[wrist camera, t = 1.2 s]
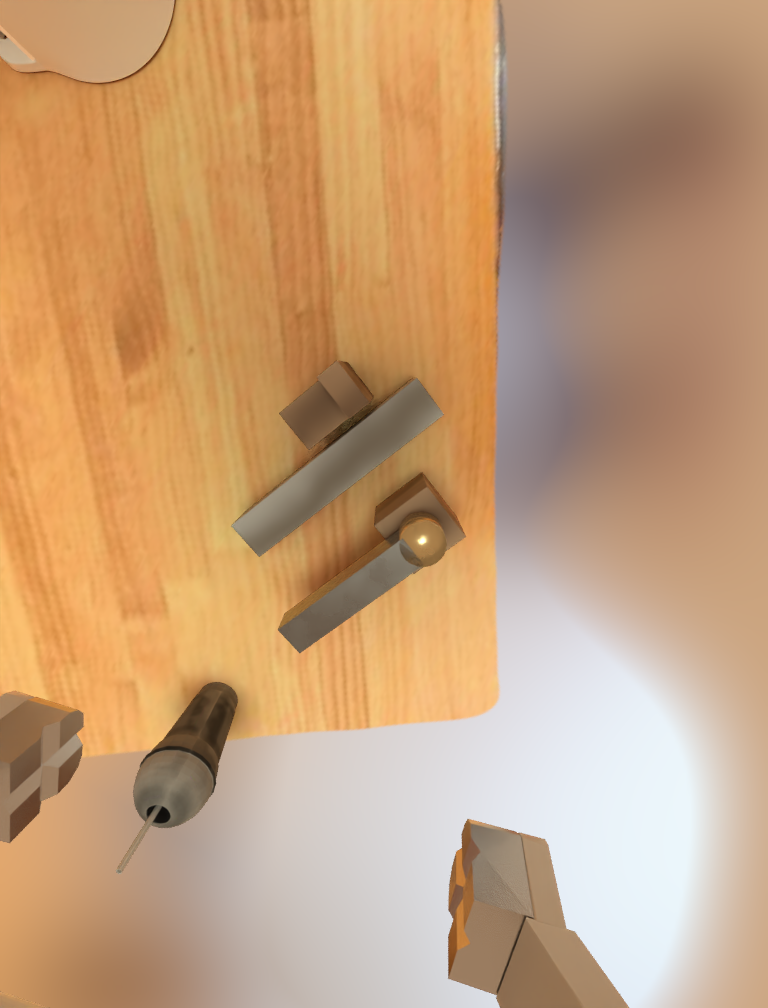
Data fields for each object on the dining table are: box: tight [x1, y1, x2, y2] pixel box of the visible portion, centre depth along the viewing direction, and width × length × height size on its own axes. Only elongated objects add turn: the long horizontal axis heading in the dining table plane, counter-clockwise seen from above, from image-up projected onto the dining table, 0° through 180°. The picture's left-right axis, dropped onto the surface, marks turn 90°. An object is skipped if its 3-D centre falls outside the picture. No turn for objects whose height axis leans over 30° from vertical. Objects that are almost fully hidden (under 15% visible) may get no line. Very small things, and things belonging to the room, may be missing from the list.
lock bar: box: [278, 512, 447, 653], centre depth 44 cm, size 17×4×3 cm, turn 128°
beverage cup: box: [116, 682, 237, 874], centre depth 47 cm, size 7×7×20 cm
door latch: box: [231, 361, 466, 574], centre depth 45 cm, size 19×22×10 cm
